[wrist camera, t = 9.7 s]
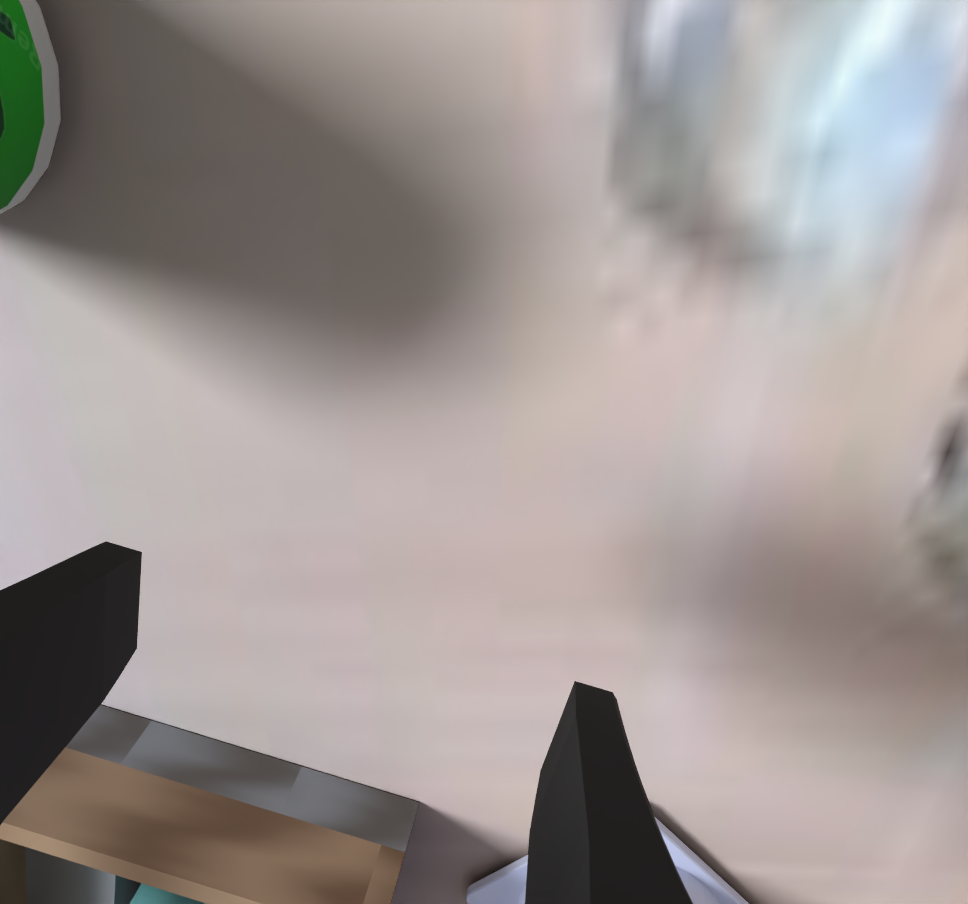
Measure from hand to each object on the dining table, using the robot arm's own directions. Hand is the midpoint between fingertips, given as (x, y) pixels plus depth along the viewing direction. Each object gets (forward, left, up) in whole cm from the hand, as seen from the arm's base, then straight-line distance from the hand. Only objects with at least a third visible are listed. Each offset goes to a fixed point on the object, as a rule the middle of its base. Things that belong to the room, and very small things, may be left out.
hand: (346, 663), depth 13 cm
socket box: (-7, +21, -10) cm, 24 cm away
